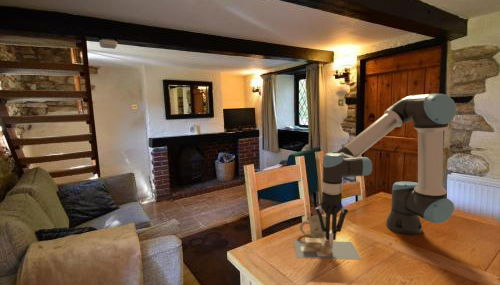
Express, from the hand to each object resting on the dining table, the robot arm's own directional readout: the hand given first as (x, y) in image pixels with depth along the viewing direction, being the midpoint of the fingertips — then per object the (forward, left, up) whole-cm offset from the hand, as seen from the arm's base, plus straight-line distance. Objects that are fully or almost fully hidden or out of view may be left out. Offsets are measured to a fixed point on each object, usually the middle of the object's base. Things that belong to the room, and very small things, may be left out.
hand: (330, 246), depth 106 cm
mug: (+5, -11, -3) cm, 12 cm away
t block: (+5, 0, -1) cm, 6 cm away
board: (+2, 0, -3) cm, 3 cm away
